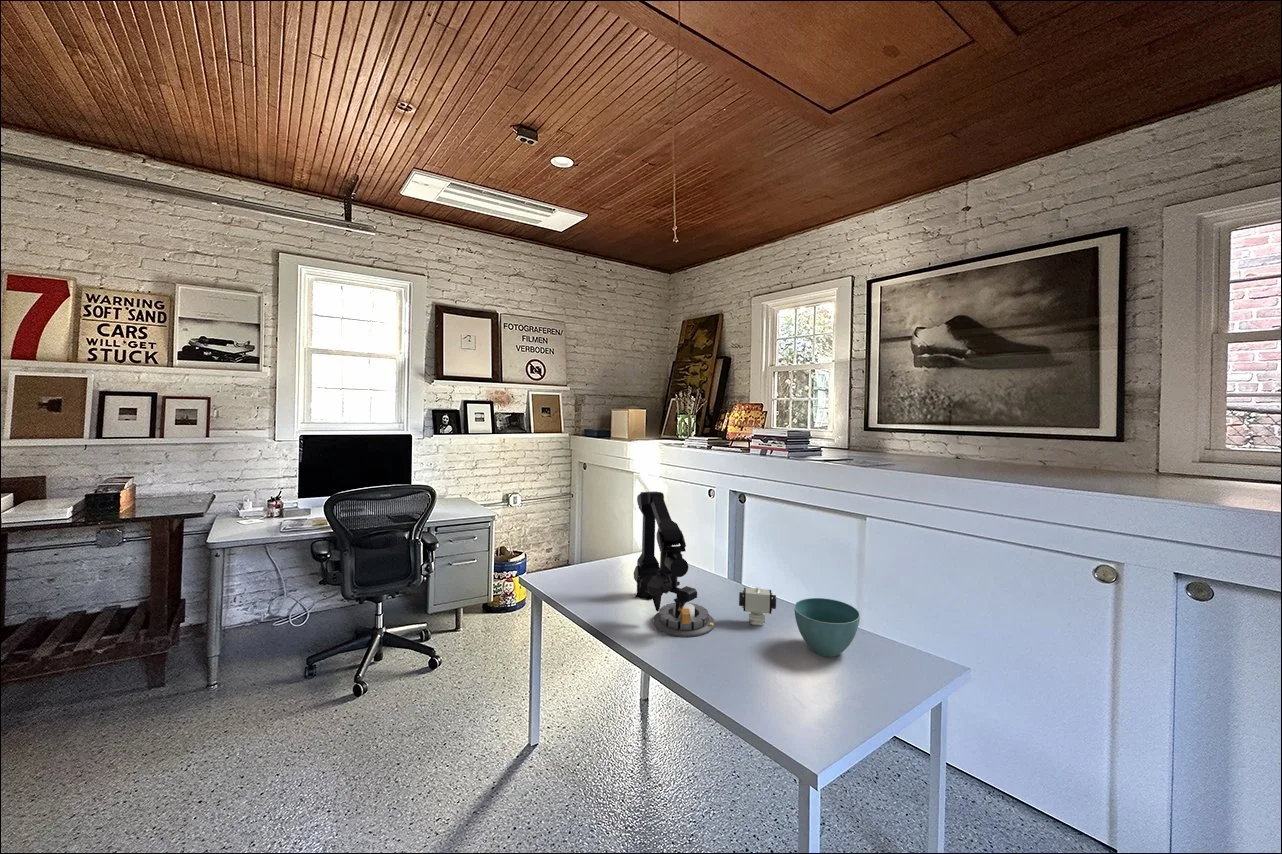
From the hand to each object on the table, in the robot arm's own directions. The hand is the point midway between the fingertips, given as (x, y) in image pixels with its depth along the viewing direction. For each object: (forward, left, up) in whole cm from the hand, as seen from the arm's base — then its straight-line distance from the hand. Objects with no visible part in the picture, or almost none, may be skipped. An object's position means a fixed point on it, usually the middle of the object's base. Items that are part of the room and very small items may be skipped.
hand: (667, 614), depth 169 cm
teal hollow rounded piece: (+47, +6, -5) cm, 48 cm away
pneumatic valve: (+25, +16, -5) cm, 31 cm away
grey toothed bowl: (+4, +6, -3) cm, 8 cm away
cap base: (+3, +6, -5) cm, 9 cm away
